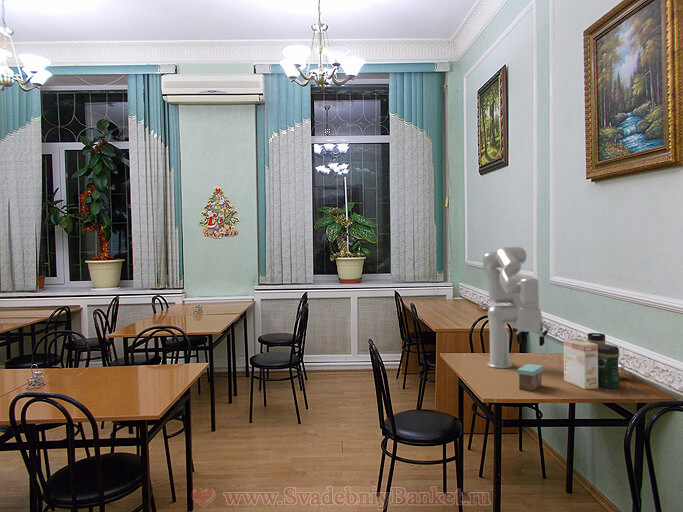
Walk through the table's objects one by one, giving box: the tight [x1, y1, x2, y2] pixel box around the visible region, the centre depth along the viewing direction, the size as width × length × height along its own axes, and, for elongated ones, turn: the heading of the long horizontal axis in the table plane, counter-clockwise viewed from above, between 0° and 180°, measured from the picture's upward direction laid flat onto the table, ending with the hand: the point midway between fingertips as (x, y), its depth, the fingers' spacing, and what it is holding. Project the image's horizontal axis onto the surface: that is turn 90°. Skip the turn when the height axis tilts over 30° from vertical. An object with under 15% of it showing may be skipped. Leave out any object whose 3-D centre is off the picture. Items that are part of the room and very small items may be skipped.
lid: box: [516, 363, 544, 376], centre depth 221 cm, size 13×7×3 cm, turn 140°
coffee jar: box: [598, 343, 621, 389], centre depth 221 cm, size 10×8×19 cm
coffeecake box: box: [563, 338, 599, 390], centre depth 224 cm, size 15×7×20 cm, turn 10°
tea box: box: [518, 371, 543, 392], centre depth 221 cm, size 12×6×7 cm, turn 140°
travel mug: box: [587, 332, 606, 344], centre depth 238 cm, size 8×8×20 cm
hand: (530, 344), depth 221 cm, fingers open, 9 cm apart
